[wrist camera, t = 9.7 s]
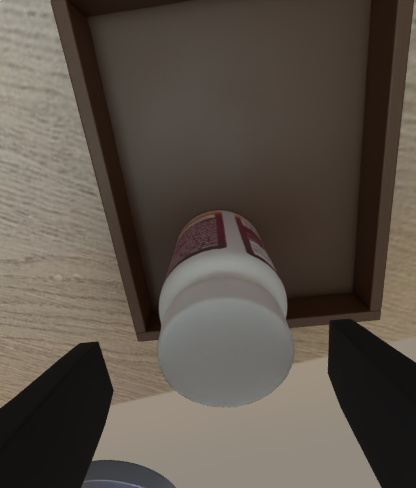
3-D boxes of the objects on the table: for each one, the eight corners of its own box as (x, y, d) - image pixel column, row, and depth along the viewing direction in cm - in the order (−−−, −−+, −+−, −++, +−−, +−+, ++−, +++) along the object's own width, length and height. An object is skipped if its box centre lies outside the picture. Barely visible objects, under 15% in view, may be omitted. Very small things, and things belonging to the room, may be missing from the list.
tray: (356, 293, 18) (380, 320, 15) (148, 313, 19) (137, 342, 16) (378, -39, 12) (424, -87, 10) (78, 10, 13) (44, -22, 10)
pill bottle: (172, 281, 17) (137, 409, 9) (181, 202, 15) (148, 274, 7) (252, 292, 17) (286, 426, 9) (269, 215, 15) (329, 299, 7)
